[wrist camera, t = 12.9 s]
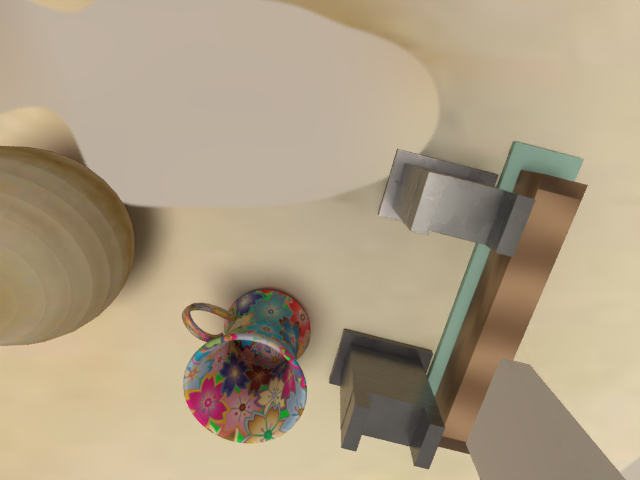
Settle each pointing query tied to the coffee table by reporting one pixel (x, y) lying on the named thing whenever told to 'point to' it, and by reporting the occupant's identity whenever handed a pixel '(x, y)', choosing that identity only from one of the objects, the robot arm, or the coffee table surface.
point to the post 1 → (386, 395)
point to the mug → (249, 368)
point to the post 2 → (454, 202)
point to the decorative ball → (57, 245)
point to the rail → (504, 303)
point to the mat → (516, 161)
